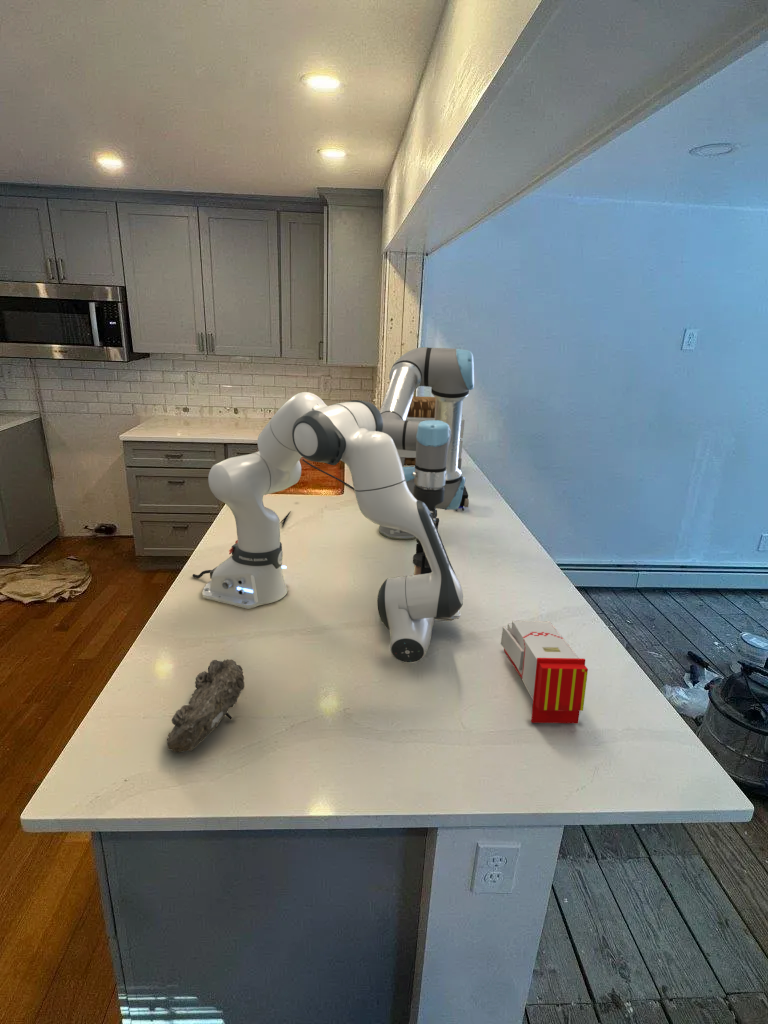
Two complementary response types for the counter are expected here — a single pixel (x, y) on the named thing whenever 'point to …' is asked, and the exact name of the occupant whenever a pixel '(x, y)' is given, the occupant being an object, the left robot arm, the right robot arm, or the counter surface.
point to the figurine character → (464, 499)
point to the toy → (547, 670)
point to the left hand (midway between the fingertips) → (421, 588)
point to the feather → (285, 518)
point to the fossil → (206, 705)
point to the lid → (417, 559)
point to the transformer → (421, 412)
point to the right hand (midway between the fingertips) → (422, 572)
